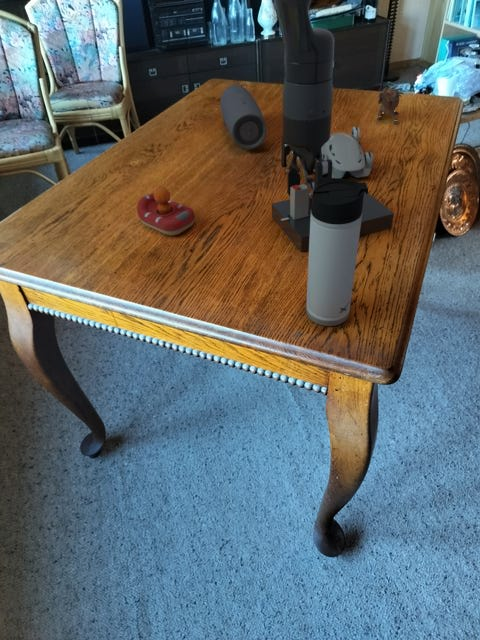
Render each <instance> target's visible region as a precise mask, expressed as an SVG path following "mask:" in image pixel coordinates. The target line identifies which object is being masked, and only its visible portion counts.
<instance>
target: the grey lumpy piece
mask: <svg viewBox="0 0 480 640" xmlns="http://www.w3.org/2000/svg"><path fill="white" fill-rule="evenodd" d="M360 129H361V128H360V127H358V126H353V127H352V129H351V133H350V134H348V133H344V132H343V133H342V132H336V133H332V134H330V138H329V140H328V141H327V142H326V143H325V144H324V145H323V146H322V148H321V150H322V159H324V160H329V159H331V160H332V180H338V179H343V177H346V176H349V177H352V178H353V179H361V178H367V177H368V176H370V174H371V171H372V169H373V167H374V154H373V152H371V151H366V152H364V151H363V149H362V147H361V145H360V137H361V130H360Z"/></svg>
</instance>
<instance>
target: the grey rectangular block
mask: <svg viewBox="0 0 480 640" xmlns="http://www.w3.org/2000/svg"><path fill="white" fill-rule="evenodd" d="M312 185H313V189H314V183H312ZM289 196H290V198H289V199H290V216H291V217H292V218H293V219H294V220H296V219H300V218H304V217H308V216H309V215H308V205H309V192H308V188H307V185H305V184H304V183H303V184H300V185H294V186H292V187H291V188H290V195H289Z"/></svg>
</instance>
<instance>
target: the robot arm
mask: <svg viewBox="0 0 480 640" xmlns="http://www.w3.org/2000/svg"><path fill="white" fill-rule="evenodd" d="M341 1H342V0H273V5H274V7H275V11H276V16H277V20H278V23H279V30H280V33H281V38H282V43H283V52H284V56H283V57H284V58H283V61H284V62H283V63H284V65H283V69H284V71H283V72H284V76H283V77H284V79H283V88H282V135H281V151H280V152H281V154H280V155H281V156H280V165H281V168H282V169H284V171H285V174H286V176H287V177H286V178H287V179H286V181H287V183H286V186H287V187H286V188H287V189H286V190H287V191H286V192H287V194H288V195H289V196H290V188H291V187H292V186H294V185H301V181H302V183H303V184H305V185H307V188H308V192H309V205H308V215H309V216H310V217H311V206H312V194H313V191H314V189H315V188H316V187H317V186H319V185H321V184H323V183H325V182H328V181H332V180H333V179H332V160H331V159H329V160H324V159H322V150H321V148H322V146H323V145H324V144H325V143H326V142H327V141H328V140H329V138H330V135H331V130H332V129H331V127H332V125H331V124H332V113H333V100H334V99H333V98H334V85H333V75H334V62H335V61H334V60H335V59H334V58H335V37H334V35H333V33H332V32H331V31H330V30H328V29H326V28H321V27H314V26H312V21H311V19H310V11H312V10H316V9H323V8H328V7H332V6H334V5H336V4H338V3H340V2H341ZM313 175H314V176H313ZM310 176H312V177H310ZM301 179H302V180H301ZM312 183H314V189H313V185H312Z"/></svg>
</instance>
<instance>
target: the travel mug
mask: <svg viewBox="0 0 480 640" xmlns="http://www.w3.org/2000/svg"><path fill="white" fill-rule="evenodd" d="M365 192H366V194H368V193H369V187H368V185H367V183H366V182H365V181H361V182H360V181H357V180H354V179H347V178H346V179H345V178H341V179H332V181H328V182H325V183H323V184H321V185H319V186H317V187H316V188H315V189H314V191H313V194H312V206H311V217H310V239H309V250H308V262H307V266H308V267H307V282H306V284H307V285H306V305H305V306H306V307H305V313H306V316H307V317H308V319H309V320H310V321H311V322H313V323H315V324H316V325H320V326H324V327H335V326H340V325H341V324H343V323H344V322H346V321H347V320H348V319H349V316H350V312H351V303H352V296H353V288H354V282H355V281H354V280H355V274H356V265H357V258H358V257H357V256H358V250H359V241H360V237H359V235H360V227H361V220H362V219H361V218H362V207H363V198H364V193H365Z"/></svg>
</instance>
